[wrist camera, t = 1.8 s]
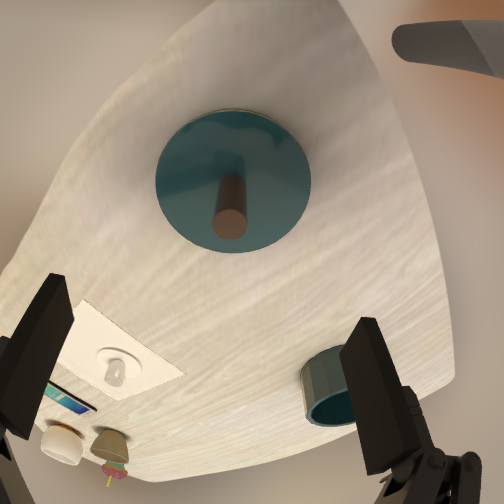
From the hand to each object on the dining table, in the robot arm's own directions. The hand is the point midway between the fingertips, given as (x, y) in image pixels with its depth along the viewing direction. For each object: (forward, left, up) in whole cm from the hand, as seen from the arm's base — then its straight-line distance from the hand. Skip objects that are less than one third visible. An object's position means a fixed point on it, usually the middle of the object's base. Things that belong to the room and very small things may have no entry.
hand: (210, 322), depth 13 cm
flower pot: (+70, +17, -19) cm, 75 cm away
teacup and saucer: (+38, +3, -19) cm, 43 cm away
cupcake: (+95, +27, -19) cm, 101 cm away
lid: (+1, +1, -19) cm, 19 cm away
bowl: (+14, +34, -19) cm, 42 cm away
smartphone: (+61, +1, -19) cm, 64 cm away
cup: (+85, +7, -19) cm, 87 cm away
